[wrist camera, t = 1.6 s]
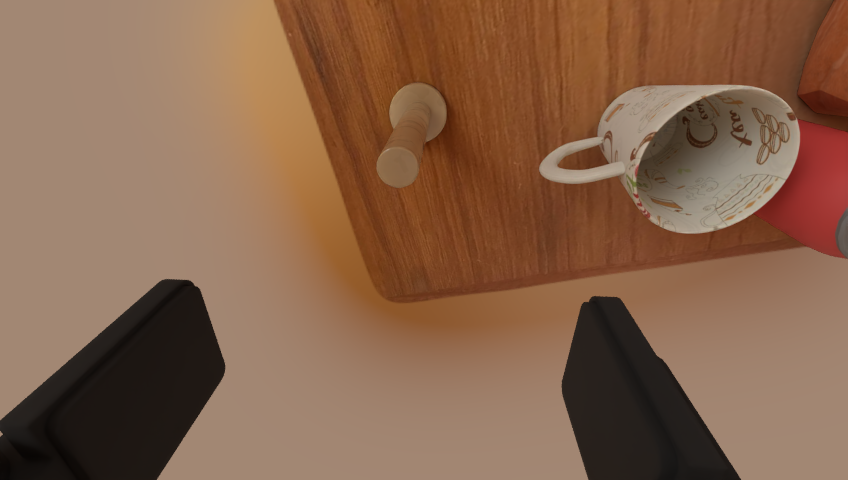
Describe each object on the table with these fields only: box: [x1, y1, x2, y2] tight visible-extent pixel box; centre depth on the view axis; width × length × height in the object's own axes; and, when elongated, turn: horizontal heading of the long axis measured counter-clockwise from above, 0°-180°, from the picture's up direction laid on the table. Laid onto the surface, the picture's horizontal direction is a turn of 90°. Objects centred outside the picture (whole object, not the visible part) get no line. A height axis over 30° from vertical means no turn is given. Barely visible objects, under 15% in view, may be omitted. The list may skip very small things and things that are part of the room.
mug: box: [539, 85, 800, 234], centre depth 26 cm, size 8×13×10 cm, turn 107°
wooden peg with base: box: [377, 82, 447, 188], centre depth 24 cm, size 4×4×14 cm
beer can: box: [753, 119, 848, 259], centre depth 25 cm, size 7×7×12 cm
